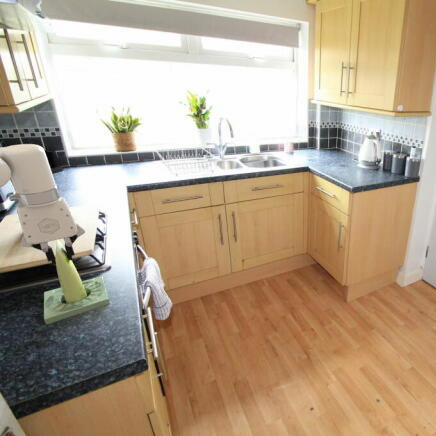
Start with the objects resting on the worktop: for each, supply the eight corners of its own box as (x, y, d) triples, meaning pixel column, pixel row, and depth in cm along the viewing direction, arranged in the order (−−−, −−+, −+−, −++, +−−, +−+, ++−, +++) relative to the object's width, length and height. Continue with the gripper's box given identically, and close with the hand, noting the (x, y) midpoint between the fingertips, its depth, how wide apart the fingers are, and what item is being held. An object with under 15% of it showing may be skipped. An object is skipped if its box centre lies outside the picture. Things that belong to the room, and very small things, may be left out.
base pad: (47, 328, 83) (43, 319, 81) (47, 300, 92) (44, 292, 91) (111, 307, 91) (108, 298, 89) (104, 283, 101) (102, 275, 99)
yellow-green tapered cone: (95, 299, 93) (74, 240, 85) (79, 310, 89) (56, 249, 81) (79, 296, 94) (57, 238, 86) (62, 307, 90) (38, 247, 82)
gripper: (-9, 208, 71) (21, 277, 78) (81, 194, 80) (100, 257, 88) (-5, 198, 76) (23, 263, 83) (79, 186, 85) (97, 246, 93)
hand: (62, 259), depth 85 cm, fingers closed on yellow-green tapered cone, 2 cm apart
